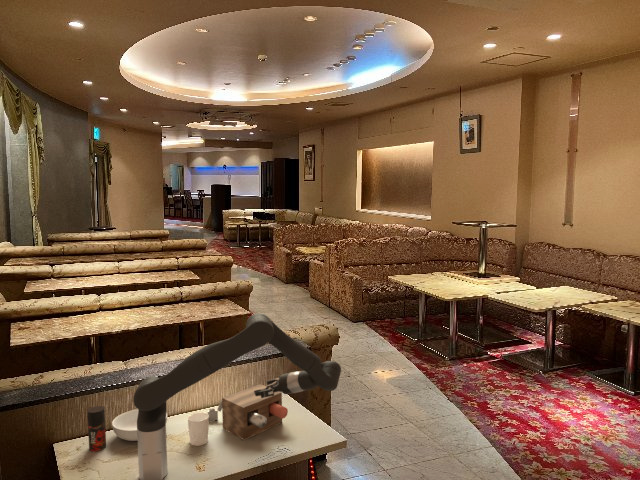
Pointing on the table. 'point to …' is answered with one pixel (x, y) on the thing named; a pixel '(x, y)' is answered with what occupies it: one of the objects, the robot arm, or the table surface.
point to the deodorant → (96, 428)
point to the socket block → (244, 403)
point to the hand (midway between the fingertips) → (261, 388)
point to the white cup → (198, 428)
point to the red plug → (278, 410)
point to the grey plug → (256, 419)
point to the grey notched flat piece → (214, 412)
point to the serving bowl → (127, 425)
